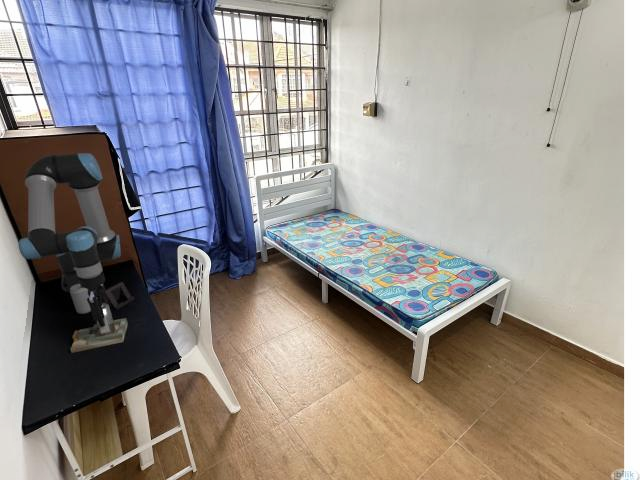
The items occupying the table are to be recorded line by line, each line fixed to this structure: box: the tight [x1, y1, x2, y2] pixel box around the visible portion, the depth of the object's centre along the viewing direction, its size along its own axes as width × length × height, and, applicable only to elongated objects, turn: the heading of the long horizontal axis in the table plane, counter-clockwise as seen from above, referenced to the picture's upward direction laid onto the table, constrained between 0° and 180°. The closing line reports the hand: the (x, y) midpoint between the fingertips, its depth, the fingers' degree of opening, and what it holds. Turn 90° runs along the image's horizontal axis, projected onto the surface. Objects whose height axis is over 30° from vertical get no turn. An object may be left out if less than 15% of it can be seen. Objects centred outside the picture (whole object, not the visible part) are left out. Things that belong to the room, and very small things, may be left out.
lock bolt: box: [72, 329, 92, 343], centre depth 124 cm, size 4×5×2 cm
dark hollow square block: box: [105, 281, 135, 311], centre depth 147 cm, size 9×8×8 cm
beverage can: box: [69, 284, 91, 315], centre depth 141 cm, size 6×6×12 cm
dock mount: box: [70, 318, 129, 354], centre depth 126 cm, size 12×16×4 cm
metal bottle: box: [96, 302, 116, 336], centre depth 125 cm, size 5×5×12 cm
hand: (107, 327), depth 126 cm, fingers closed on metal bottle, 5 cm apart
